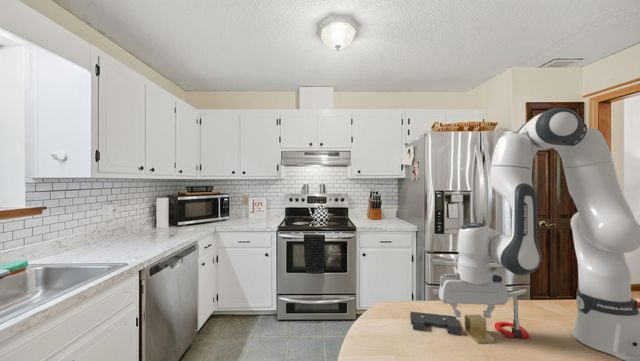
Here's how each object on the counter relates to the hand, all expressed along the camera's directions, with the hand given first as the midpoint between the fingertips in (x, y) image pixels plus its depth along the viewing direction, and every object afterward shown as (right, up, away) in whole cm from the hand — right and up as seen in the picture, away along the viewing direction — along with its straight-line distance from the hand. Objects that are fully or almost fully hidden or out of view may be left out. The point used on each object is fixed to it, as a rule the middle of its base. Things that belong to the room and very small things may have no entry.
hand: (472, 316), depth 92 cm
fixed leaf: (-10, -5, +5) cm, 12 cm away
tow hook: (+12, -5, 0) cm, 13 cm away
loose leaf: (+1, -5, -3) cm, 6 cm away
